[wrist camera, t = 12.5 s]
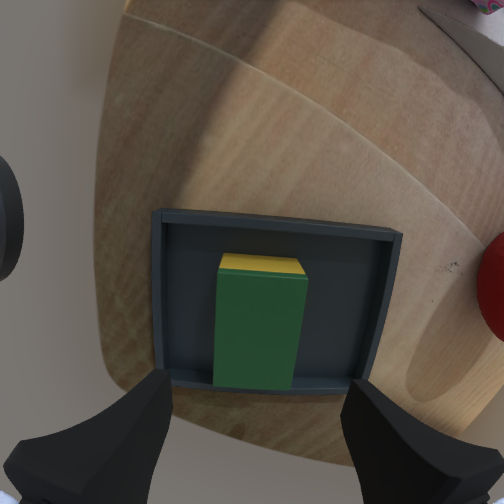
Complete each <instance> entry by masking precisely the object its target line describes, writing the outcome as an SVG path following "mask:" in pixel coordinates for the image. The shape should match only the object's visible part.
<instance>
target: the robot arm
mask: <svg viewBox="0 0 504 504" xmlns="http://www.w3.org/2000/svg"><path fill="white" fill-rule="evenodd" d="M172 410H173V403H172V390H171V376H170V370H163V369H156V368H155V369H154V370H152V371H151V372H150V373H149V374H148V375H147V376H146V377H145V378H144V379H143V380H142V381H141V382H139V383H138V384H137V385H136V386H135V387H134V388H133V389H131V390H130V391H129V392H128V393H127V394H126V395H124V396H123V397H122V398H121V399H119V400H118V401H116V402H115V403H114V404H112V405H111V406H110V407H109V408H107V409H105V410H104V411H102V412H101V413H99V414H97V415H96V416H94V417H92V418H91V419H88V420H86V421H84V422H82V423H80V424H77V425H75V426H73V427H71V428H68V429H66V430H63V431H60V432H57V433H54V434H50V435H47V436H43V437H38V438H33V439H28V440H22V441H20V442H19V443H18V444H17V446H16V447H15V448H14V450H13V451H12V453H11V454H10V456H9V457H8V458H7V460H6V462H5V463H4V465H3V467H4V471H5V474H6V475H7V477H8V478H9V480H10V481H11V482H12V484H13V485H14V486H15V488H16V489H17V490H18V492H19V493H20V494H21V495H22V499H21V501H20V503H19V502H18V501H17V500H16V499H14V498H13V497H11V496H10V495H8V494H7V493H5V492H3V491H1V490H0V504H147V499H148V493H149V489H150V484H151V479H152V475H153V472H154V468H155V466H156V463H157V460H158V457H159V455H160V452H161V449H162V446H163V443H164V440H165V438H166V435H167V432H168V429H169V424H170V420H171V415H172ZM340 418H341V423H342V429H343V434H344V437H345V440H346V443H347V446H348V449H349V452H350V455H351V458H352V460H353V463H354V466H355V469H356V472H357V475H358V478H359V482H360V485H361V491H362V496H363V501H364V504H487V501H488V500H489V499H490V496H489V495H488V493H487V492H488V491H489V490H490V489H491V487H492V486H493V485H494V484H495V483H496V482H497V480H498V479H499V478H500V477H501V475H502V474H503V473H504V458H503V457H502V455H501V454H500V453H499V451H498V450H497V449H492V448H486V447H481V446H477V445H473V444H469V443H466V442H463V441H460V440H457V439H455V438H452V437H450V436H447V435H445V434H443V433H441V432H439V431H436V430H435V429H433V428H431V427H429V426H427V425H426V424H424V423H422V422H420V421H419V420H417V419H416V418H414V417H413V416H411V415H410V414H409V413H407V412H406V411H404V410H403V409H402V408H400V407H399V406H398V405H397V404H395V403H394V402H393V401H392V400H390V399H389V398H388V397H387V396H385V395H384V394H383V393H382V392H381V391H380V390H378V389H377V388H376V387H375V386H374V385H372V384H371V383H370V382H369V381H367V380H366V379H352V380H351V383H350V386H349V390H348V393H347V396H346V399H345V402H344V405H343V408H342V411H341V414H340ZM493 504H504V497H503V498H501V499H499V500H498V501H496V502H494V503H493Z"/></svg>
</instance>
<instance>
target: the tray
mask: <svg viewBox="0 0 504 504" xmlns="http://www.w3.org/2000/svg"><path fill="white" fill-rule="evenodd" d="M402 236H403V233H401V232H398V231H396V230H393V229H391V228H387V227H378V226H369V225H361V224H352V223H342V222H333V221H323V220H313V219H302V218H292V217H281V216H269V215H257V214H244V213H231V212H217V211H202V210H187V209H169V208H161V209H158V210H156V211H153V212H152V233H151V280H152V313H153V333H154V349H155V362H156V369H163V370H170V376H171V386H177V387H185V388H193V389H202V390H212V391H223V392H236V393H251V394H274V395H335V394H347V393H348V390H349V386H350V383H351V380H352V379H366V380H367V381H368V379H369V376H370V373H371V369H372V366H373V363H374V360H375V356H376V353H377V349H378V346H379V342H380V339H381V335H382V331H383V327H384V324H385V320H386V316H387V312H388V307H389V303H390V299H391V294H392V290H393V285H394V280H395V275H396V270H397V265H398V260H399V254H400V249H401V243H402ZM224 253H234V254H247V255H260V256H273V257H286V258H296V259H297V260H298V262H299V263H300V265H301V267H302V269H303V270H304V272H305V274H306V276H307V277H308V286H307V293H306V300H305V307H304V313H303V320H302V326H301V332H300V338H299V344H298V350H297V356H296V361H295V367H294V372H293V378H292V383H291V388H290V390H261V389H243V388H229V387H217V386H213V363H214V332H215V306H216V285H217V272H218V269H219V266H220V263H221V260H222V257H223V254H224Z"/></svg>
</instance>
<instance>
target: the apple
mask: <svg viewBox="0 0 504 504" xmlns="http://www.w3.org/2000/svg"><path fill="white" fill-rule="evenodd" d="M477 299H478V304H479V308H480V310H481V313H482V316H483V318H484V319H485V321H486V323H487V325H488V326H489V328H490V329H491V330H492V332H493V333H494V334H495V335H496V336H497V337H498V338H499V339H500V340H502V341H503V342H504V232H502V233H501V234H499V235H498V236H497V237H496V238H495V239H494V240H493V241H492V242H491V243H490V245H489V246H488V248H487V249H486V251H485V253H484V255H483V258H482V262H481V265H480V269H479V273H478V276H477Z"/></svg>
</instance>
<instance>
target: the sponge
mask: <svg viewBox="0 0 504 504" xmlns="http://www.w3.org/2000/svg"><path fill="white" fill-rule="evenodd" d="M307 286H308V277H307V276H306V274H305V272H304V270H303V269H302V267H301V265H300V263H299V262H298V260H297V259H296V258H286V257H273V256H260V255H247V254H234V253H224V254H223V257H222V260H221V263H220V266H219V269H218V272H217V285H216V306H215V332H214V363H213V386H217V387H229V388H243V389H261V390H290V388H291V383H292V378H293V372H294V367H295V361H296V356H297V350H298V344H299V338H300V332H301V326H302V320H303V313H304V307H305V300H306V293H307Z"/></svg>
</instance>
